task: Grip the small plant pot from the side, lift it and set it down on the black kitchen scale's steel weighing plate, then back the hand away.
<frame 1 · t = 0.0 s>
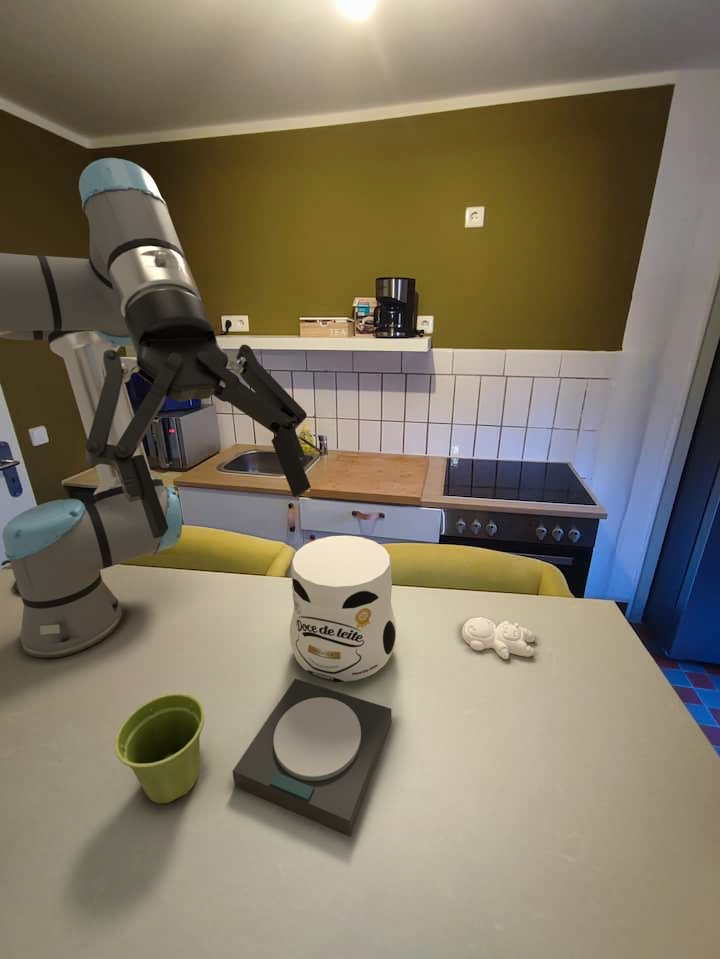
hand: (239, 511, 39), 36 cm above the table, tool tilted 35°, fingers open, 13 cm apart
plant pot: (173, 779, 52), on the table
scale: (318, 751, 55), on the table
milk container: (343, 652, 72), on the table
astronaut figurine: (498, 641, 74), on the table
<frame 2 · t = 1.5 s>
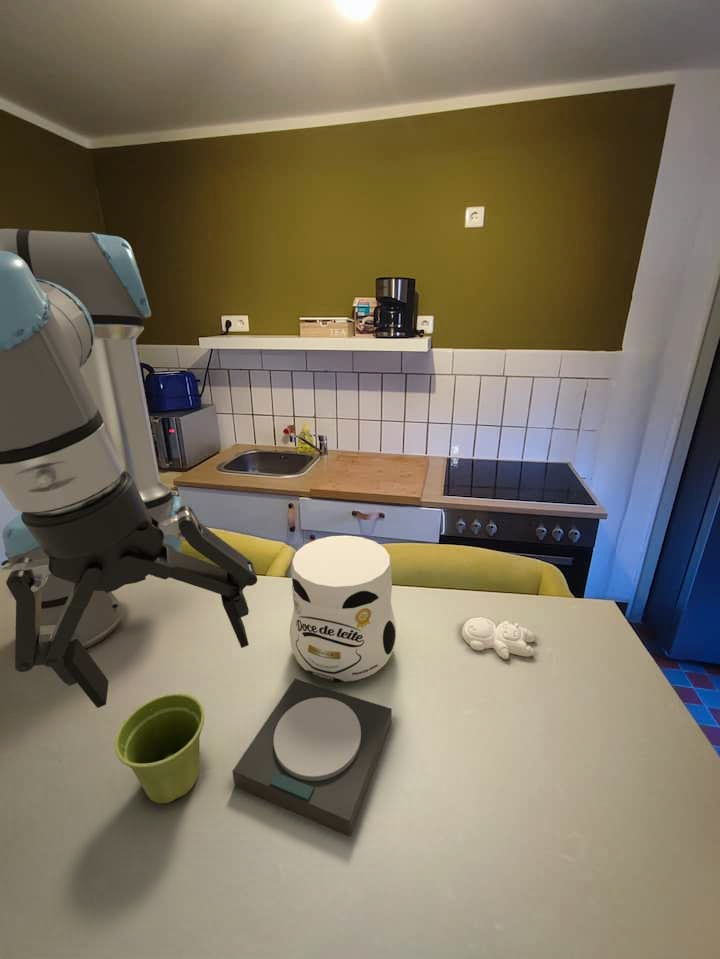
hand: (176, 664, 43), 20 cm above the table, tool pointing down, fingers open, 13 cm apart
nothing on the table moved.
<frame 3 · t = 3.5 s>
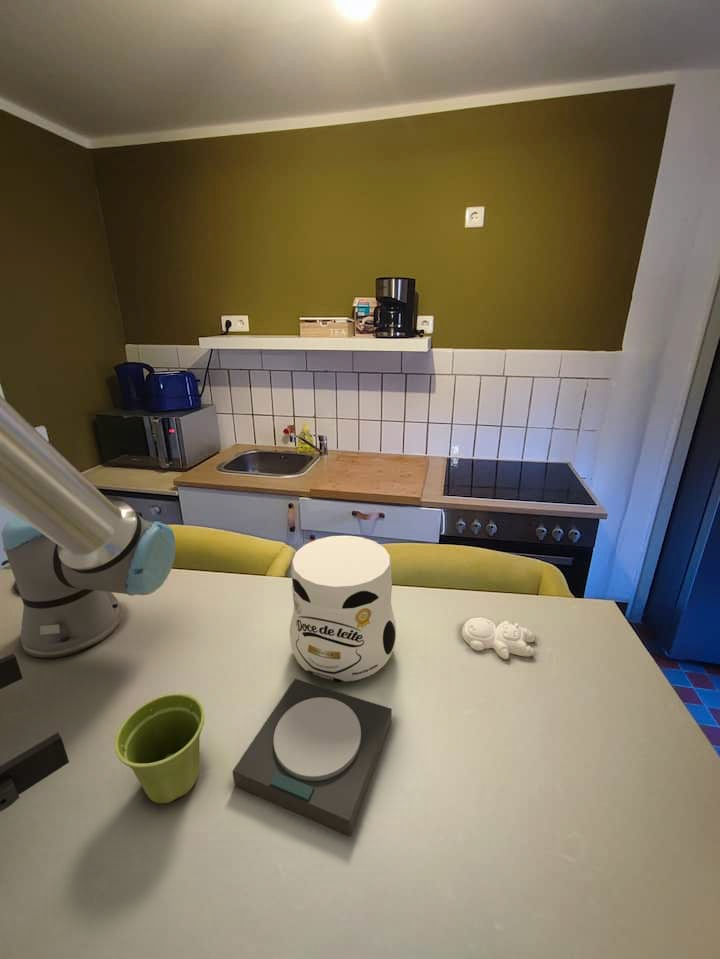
hand: (39, 701, 39), 20 cm above the table, tool horizontal, fingers open, 13 cm apart
nothing on the table moved.
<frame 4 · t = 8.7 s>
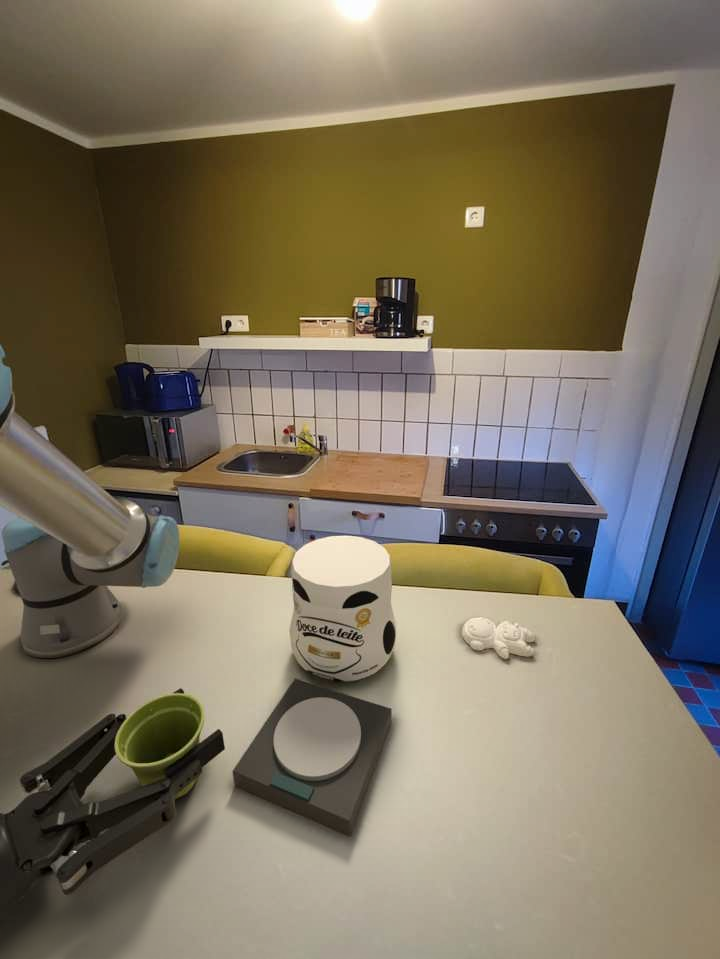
hand: (201, 717, 53), 6 cm above the table, tool horizontal, fingers closed on plant pot, 8 cm apart
plant pot: (173, 779, 52), on the table, touching gripper
everything else where it was.
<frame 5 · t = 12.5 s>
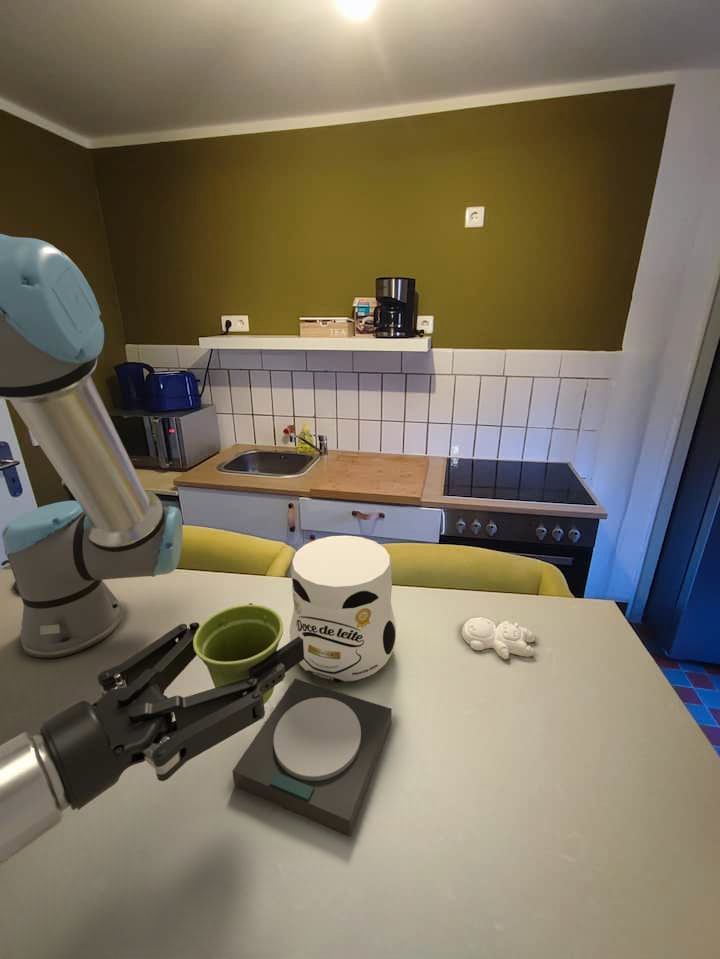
hand: (276, 629, 50), 18 cm above the table, tool horizontal, fingers closed on plant pot, 8 cm apart
plant pot: (247, 693, 49), point 12 cm above the table, touching gripper
everything else where it was.
when the fingers open (9 cm above the table, at t = 16.4 s): plant pot stays where it is, resting on scale.
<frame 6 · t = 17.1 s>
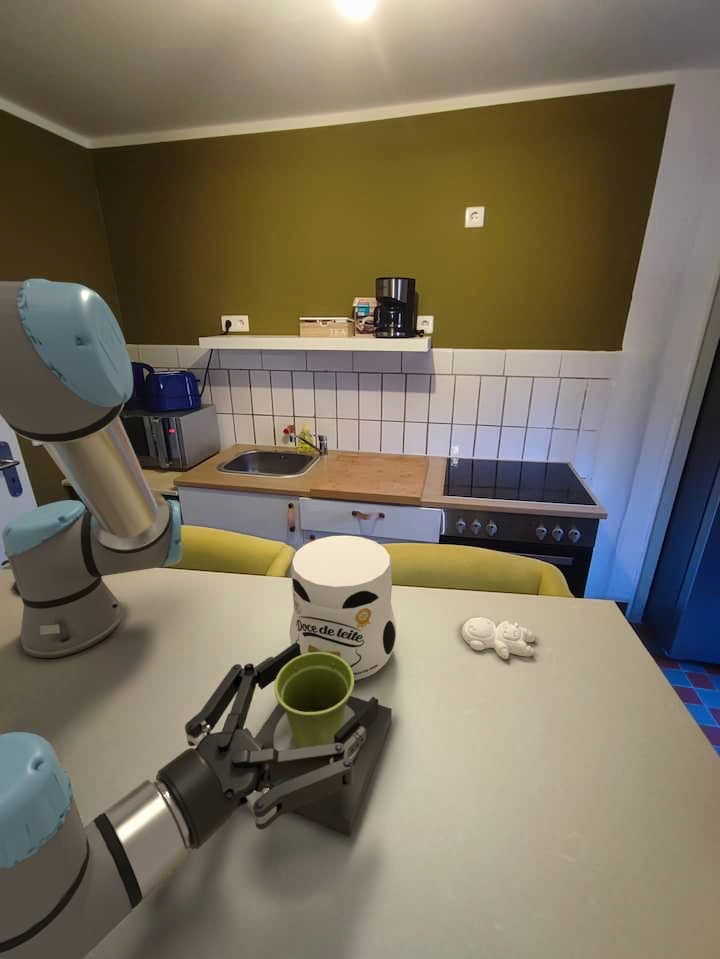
hand: (334, 676, 54), 10 cm above the table, tool horizontal, fingers open, 13 cm apart
plant pot: (317, 734, 54), point 3 cm above the table, touching scale
everything else where it was.
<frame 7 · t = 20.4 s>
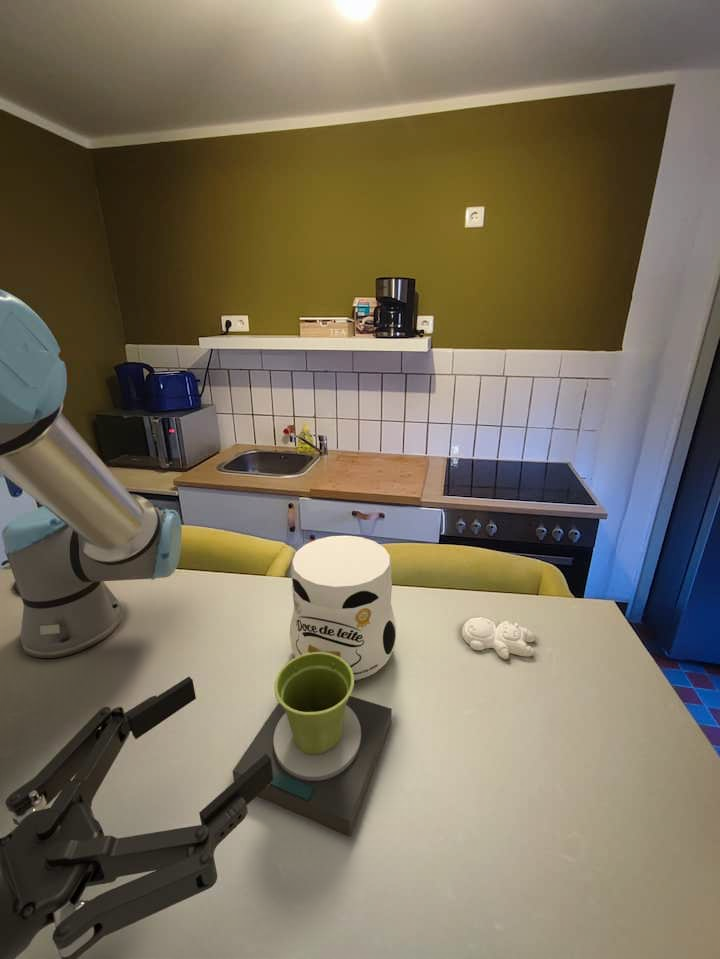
hand: (227, 722, 43), 14 cm above the table, tool horizontal, fingers open, 13 cm apart
nothing on the table moved.
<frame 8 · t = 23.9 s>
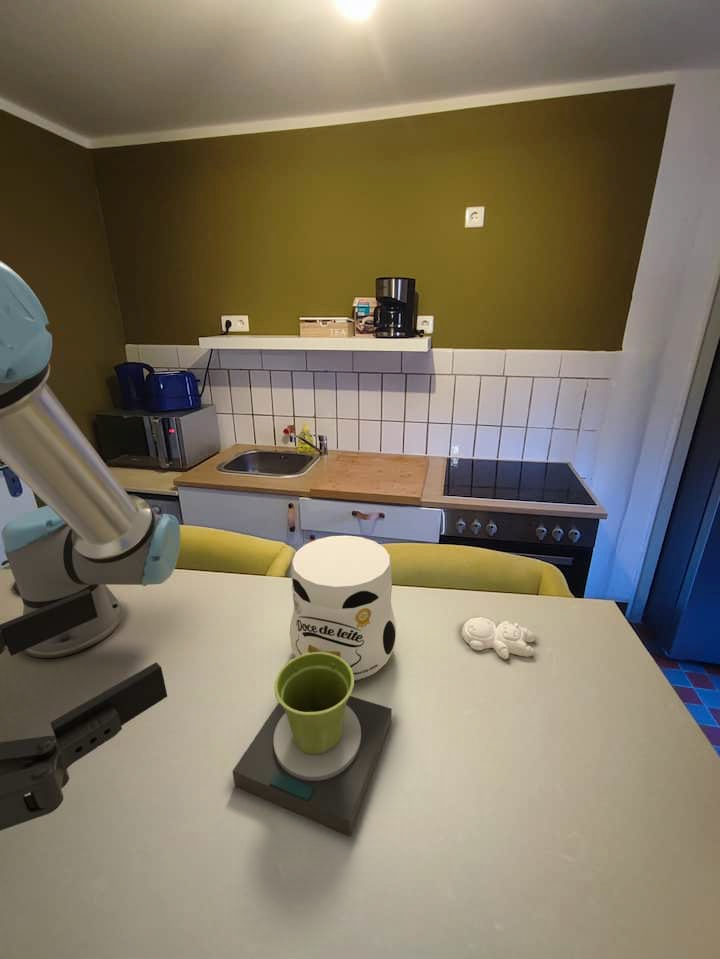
hand: (124, 636, 35), 28 cm above the table, tool horizontal, fingers open, 13 cm apart
nothing on the table moved.
at the end: plant pot inside the target area on the scale (0.0 cm from its centre), point 3.1 cm above the scale's base; plant pot tilted 0°; the gripper is holding nothing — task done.
